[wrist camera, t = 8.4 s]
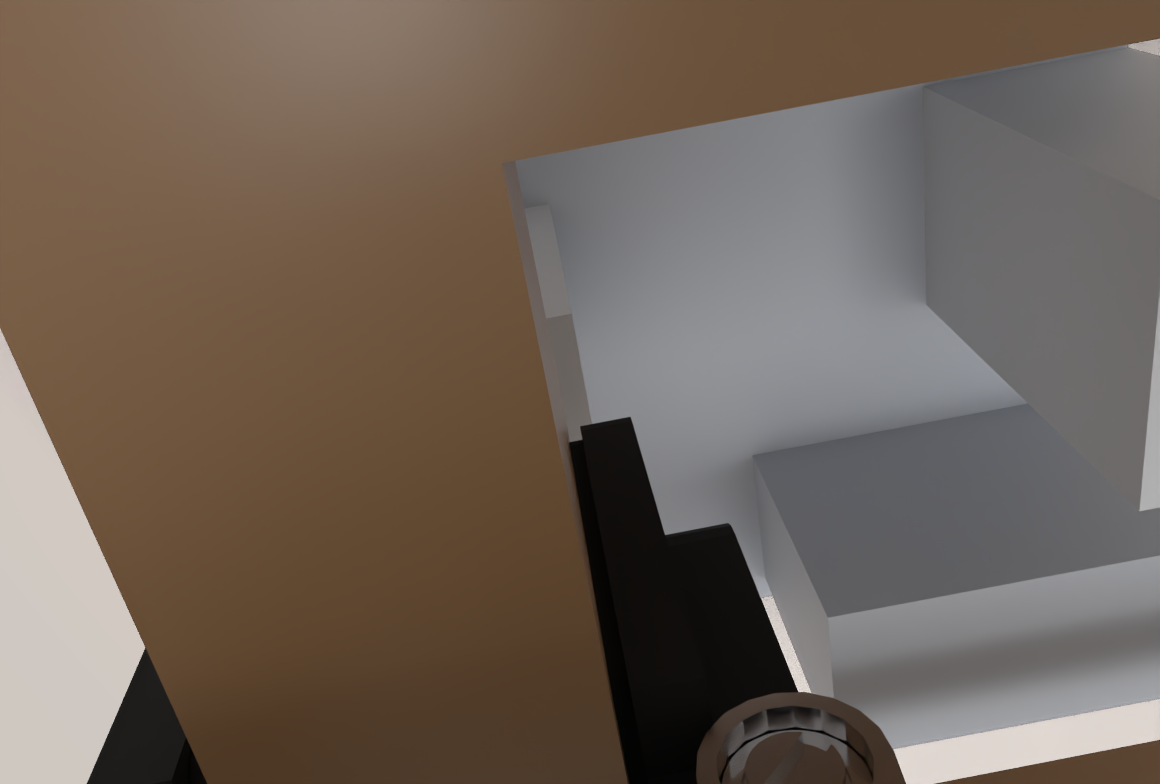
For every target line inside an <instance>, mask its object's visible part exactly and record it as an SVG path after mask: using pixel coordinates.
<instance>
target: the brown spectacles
mask: <svg viewBox="0 0 1160 784" xmlns="http://www.w3.org/2000/svg"><path fill="white" fill-rule="evenodd" d="M1159 38H1160V0H0V328H1V331H2V333H3V335H4V337H5V339H6V342H7V344H8V346H9V348H10V350H11V353H12V355H13V357H14V359H15V361H16V364H17V366H18V368H19V370H20V372H21V375H22V377H23V379H24V381H25V383H26V386H27V388H28V390H29V392H30V394H31V397H32V399H33V401H34V403H35V405H36V408H37V410H38V412H39V414H40V416H41V419H42V421H43V423H44V425H45V427H46V430H47V432H48V434H49V436H50V438H51V441H52V443H53V445H54V447H55V449H56V452H57V454H58V456H59V458H60V460H61V463H62V465H63V467H64V469H65V471H66V474H67V476H68V478H69V480H70V482H71V485H72V487H73V489H74V491H75V493H76V496H77V498H78V500H79V502H80V504H81V506H82V509H83V511H84V513H85V515H86V518H87V520H88V522H89V524H90V526H91V529H92V530H93V533H94V535H95V537H96V540H97V542H98V544H99V546H100V548H101V551H102V553H103V555H104V557H105V559H106V562H107V564H108V566H109V568H110V570H111V573H112V575H113V577H114V579H115V581H116V584H117V586H118V588H119V590H120V592H121V595H122V597H123V599H124V601H125V603H126V606H127V608H128V610H129V612H130V614H131V617H132V619H133V621H134V623H135V625H136V628H137V630H138V632H139V634H140V637H141V639H142V641H143V643H144V645H145V648H146V650H147V652H148V654H149V656H150V659H151V661H152V663H153V665H154V667H155V670H156V672H157V674H158V676H159V678H160V681H161V683H162V685H163V687H164V689H165V692H166V694H167V696H168V698H169V700H170V703H171V705H172V707H173V709H174V711H175V714H176V716H177V718H178V720H179V722H180V725H181V727H182V729H183V731H184V733H185V736H186V738H187V740H188V742H189V744H190V747H191V749H192V751H193V753H194V755H195V758H196V760H197V762H198V764H199V766H200V769H201V771H202V773H203V775H204V777H205V780H206V782H207V784H630V783H629V778H628V773H627V768H626V763H625V758H624V753H623V748H622V743H621V738H620V733H619V728H618V723H617V718H616V713H615V708H614V703H613V697H612V692H611V686H610V681H609V675H608V669H607V664H606V658H605V652H604V646H603V640H602V634H601V628H600V622H599V616H598V610H597V604H596V598H595V593H594V587H593V581H592V575H591V569H590V563H589V557H588V551H587V545H586V539H585V533H584V527H583V521H582V515H581V509H580V504H579V498H578V492H577V486H576V480H575V474H574V468H573V462H572V456H571V450H570V444H569V442H570V437H569V432H568V427H567V422H566V417H565V412H564V407H563V402H562V397H561V392H560V387H559V382H558V377H557V371H556V366H555V361H554V356H553V351H552V346H551V341H550V336H549V331H548V326H547V321H546V316H545V311H544V306H543V300H542V295H541V290H540V285H539V280H538V275H537V270H536V265H535V260H534V255H533V250H532V245H531V240H530V235H529V229H528V224H527V219H526V214H525V209H524V204H523V199H522V194H521V189H520V184H519V179H518V174H517V169H516V164H515V161H516V160H522V159H527V158H532V157H537V156H543V155H548V154H553V153H558V152H564V151H569V150H574V149H580V148H585V147H590V146H595V145H601V144H606V143H611V142H616V141H622V140H627V139H632V138H638V137H643V136H648V135H653V134H659V133H664V132H669V131H674V130H680V129H685V128H690V127H695V126H701V125H706V124H711V123H717V122H722V121H727V120H732V119H738V118H743V117H748V116H753V115H759V114H764V113H769V112H774V111H780V110H785V109H790V108H796V107H801V106H806V105H811V104H817V103H822V102H827V101H832V100H838V99H843V98H848V97H853V96H859V95H864V94H869V93H875V92H880V91H885V90H890V89H896V88H901V87H906V86H911V85H917V84H922V83H927V82H932V81H938V80H943V79H948V78H954V77H959V76H964V75H969V74H975V73H980V72H985V71H990V70H996V69H1001V68H1006V67H1012V66H1017V65H1022V64H1027V63H1033V62H1038V61H1043V60H1048V59H1054V58H1059V57H1064V56H1069V55H1075V54H1080V53H1085V52H1091V51H1096V50H1101V49H1106V48H1112V47H1117V46H1122V45H1127V44H1133V43H1138V42H1143V41H1148V40H1154V39H1159ZM936 784H1160V740H1157V741H1152V742H1147V743H1142V744H1137V745H1132V746H1126V747H1121V748H1116V749H1111V750H1106V751H1101V752H1096V753H1090V754H1085V755H1080V756H1075V757H1070V758H1065V759H1060V760H1055V761H1049V762H1044V763H1039V764H1034V765H1029V766H1024V767H1019V768H1013V769H1008V770H1003V771H998V772H993V773H988V774H983V775H978V776H972V777H967V778H962V779H957V780H952V781H947V782H942V783H936Z"/></svg>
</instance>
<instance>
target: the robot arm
mask: <svg viewBox="0 0 1160 784" xmlns="http://www.w3.org/2000/svg"><path fill="white" fill-rule="evenodd" d="M580 430H581V435H582V440H578V441H573V442H569V444H570V450H571V456H572V462H573V468H574V474H575V480H576V486H577V492H578V498H579V504H580V509H581V515H582V521H583V527H584V533H585V539H586V545H587V551H588V557H589V563H590V569H591V575H592V581H593V587H594V593H595V598H596V604H597V610H598V616H599V622H600V628H601V634H602V640H603V646H604V652H605V658H606V664H607V669H608V675H609V681H610V686H611V692H612V697H613V703H614V708H615V713H616V718H617V723H618V728H619V733H620V738H621V743H622V748H623V753H624V758H625V763H626V768H627V773H628V778H629V783H630V784H906V783H905V780H904V777H903V775H902V772H901V769H900V767H899V764H898V761H897V759H896V756H895V753H894V751H893V748H892V747H891V745H890V744H889V742H888V740H887V739H886V737H885V735H884V734H883V732H882V730H881V729H880V727H879V726H878V725H876V724H875V723H874V722H873V721H872V720H870V719H869V718H868V717H867V716H866V715H865V714H863V713H862V712H861V711H860V710H858V709H856V708H854V707H852V706H850V705H848V704H845V703H843V702H841V701H839V700H837V699H835V698H831V697H826V696H821V695H816V694H811V693H806V692H798V690H797V688H796V685H795V683H794V680H793V678H792V675H791V673H790V670H789V668H788V665H787V663H786V660H785V658H784V655H783V653H782V650H781V648H780V645H779V643H778V640H777V638H776V635H775V633H774V630H773V628H772V625H771V623H770V620H769V618H768V615H767V613H766V610H765V608H764V605H763V603H762V600H761V597H760V595H759V592H758V590H757V587H756V585H755V582H754V580H753V577H752V575H751V572H750V570H749V567H748V565H747V562H746V560H745V557H744V555H743V552H742V550H741V547H740V545H739V542H738V540H737V537H736V535H735V532H734V530H733V528H732V526H731V525H730V524H729V523H725V524H720V525H715V526H710V527H705V528H699V529H694V530H689V531H684V532H678V533H673V534H668V535H665V533H664V530H663V526H662V523H661V519H660V516H659V512H658V509H657V506H656V502H655V499H654V495H653V492H652V488H651V485H650V481H649V478H648V474H647V471H646V468H645V464H644V461H643V457H642V454H641V450H640V447H639V443H638V440H637V437H636V433H635V430H634V426H633V423H632V420H631V417H626V418H621V419H615V420H610V421H605V422H600V423H594V424H589V425H584V426H580ZM87 784H207V782H206V780H205V777H204V775H203V773H202V771H201V769H200V766H199V764H198V762H197V760H196V758H195V755H194V753H193V751H192V749H191V747H190V744H189V742H188V740H187V738H186V736H185V733H184V731H183V729H182V727H181V725H180V722H179V720H178V718H177V716H176V714H175V711H174V709H173V707H172V705H171V703H170V700H169V698H168V696H167V694H166V692H165V689H164V687H163V685H162V683H161V681H160V678H159V676H158V674H157V672H156V670H155V667H154V665H153V663H152V661H151V659H150V656H149V654H148V652H147V650H146V648H145V650H144V652H143V655H142V657H141V660H140V662H139V664H138V667H137V669H136V671H135V673H134V676H133V678H132V680H131V683H130V685H129V687H128V690H127V692H126V694H125V697H124V699H123V701H122V704H121V706H120V708H119V711H118V713H117V715H116V717H115V720H114V722H113V724H112V727H111V729H110V731H109V734H108V736H107V738H106V741H105V743H104V746H103V748H102V750H101V752H100V755H99V757H98V759H97V762H96V764H95V766H94V768H93V771H92V773H91V776H90V778H89V780H88V782H87Z"/></svg>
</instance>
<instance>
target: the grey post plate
mask: <svg viewBox="0 0 1160 784" xmlns="http://www.w3.org/2000/svg"><path fill="white" fill-rule="evenodd" d="M515 164H516V169H517V174H518V179H519V184H520V189H521V194H522V199H523V204H524V209H525V214H526V219H527V224H528V229H529V235H530V240H531V245H532V250H533V255H534V260H535V265H536V270H537V275H538V280H539V285H540V290H541V295H542V300H543V306H544V311H545V316H546V321H547V326H548V331H549V336H550V341H551V346H552V351H553V356H554V361H555V366H556V371H557V377H558V382H559V387H560V392H561V397H562V402H563V407H564V412H565V417H566V422H567V427H568V432H569V437H570V442H573V441H578V440H582V435H581V430H580V426H584V425H589V424H594V423H600V422H605V421H610V420H615V419H621V418H626V417H631V420H632V423H633V426H634V430H635V433H636V437H637V440H638V443H639V447H640V450H641V454H642V457H643V461H644V464H645V468H646V471H647V474H648V478H649V481H650V485H651V488H652V492H653V495H654V499H655V502H656V506H657V509H658V512H659V516H660V519H661V523H662V526H663V530H664V533H665V535H668V534H673V533H678V532H684V531H689V530H694V529H699V528H705V527H710V526H715V525H720V524H725V523H729V524H730V525H731V526H732V528H733V530H734V532H735V535H736V537H737V540H738V542H739V545H740V547H741V550H742V552H743V555H744V557H745V560H746V562H747V565H748V567H749V570H750V572H751V575H752V577H753V580H754V582H755V585H756V587H757V590H758V592H759V595H760V597H761V598H764V597H769V596H773V598H774V600H775V603H776V605H777V608H778V610H779V613H780V615H781V618H782V620H783V623H784V625H785V628H786V630H787V633H788V635H789V638H790V640H791V643H792V645H793V648H794V650H795V653H796V655H797V658H798V660H799V663H800V665H801V667H802V670H803V672H804V675H805V677H806V680H807V682H808V685H809V687H810V690H811V692H812V694H816V695H821V696H826V697H831V698H835V699H837V700H839V701H841V702H843V703H845V704H848V705H850V706H852V707H854V708H856V709H858V710H860V711H861V712H862V713H863V714H865V715H866V716H867V717H868V718H869V719H870V720H872V721H873V722H874V723H875V724H876V725H878V726H879V727H880V729H881V730H882V732H883V734H884V735H885V737H886V739H887V740H888V742H889V744H890V745H891V747H892V748H893V749H896V748H902V747H907V746H912V745H918V744H923V743H928V742H934V741H939V740H944V739H950V738H955V737H960V736H965V735H971V734H976V733H981V732H987V731H992V730H997V729H1003V728H1008V727H1013V726H1019V725H1024V724H1029V723H1035V722H1040V721H1045V720H1050V719H1056V718H1061V717H1066V716H1072V715H1077V714H1082V713H1088V712H1093V711H1098V710H1104V709H1109V708H1114V707H1120V706H1125V705H1130V704H1136V703H1141V702H1146V701H1151V700H1157V699H1160V56H1157V55H1154V54H1150V53H1146V52H1142V51H1139V50H1135V49H1131V48H1128V44H1127V45H1122V46H1117V47H1112V48H1106V49H1101V50H1096V51H1091V52H1085V53H1080V54H1075V55H1069V56H1064V57H1059V58H1054V59H1048V60H1043V61H1038V62H1033V63H1027V64H1022V65H1017V66H1012V67H1006V68H1001V69H996V70H990V71H985V72H980V73H975V74H969V75H964V76H959V77H954V78H948V79H943V80H938V81H932V82H927V83H922V84H917V85H911V86H906V87H901V88H896V89H890V90H885V91H880V92H875V93H869V94H864V95H859V96H853V97H848V98H843V99H838V100H832V101H827V102H822V103H817V104H811V105H806V106H801V107H796V108H790V109H785V110H780V111H774V112H769V113H764V114H759V115H753V116H748V117H743V118H738V119H732V120H727V121H722V122H717V123H711V124H706V125H701V126H695V127H690V128H685V129H680V130H674V131H669V132H664V133H659V134H653V135H648V136H643V137H638V138H632V139H627V140H622V141H616V142H611V143H606V144H601V145H595V146H590V147H585V148H580V149H574V150H569V151H564V152H558V153H553V154H548V155H543V156H537V157H532V158H527V159H522V160H516V161H515Z"/></svg>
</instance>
